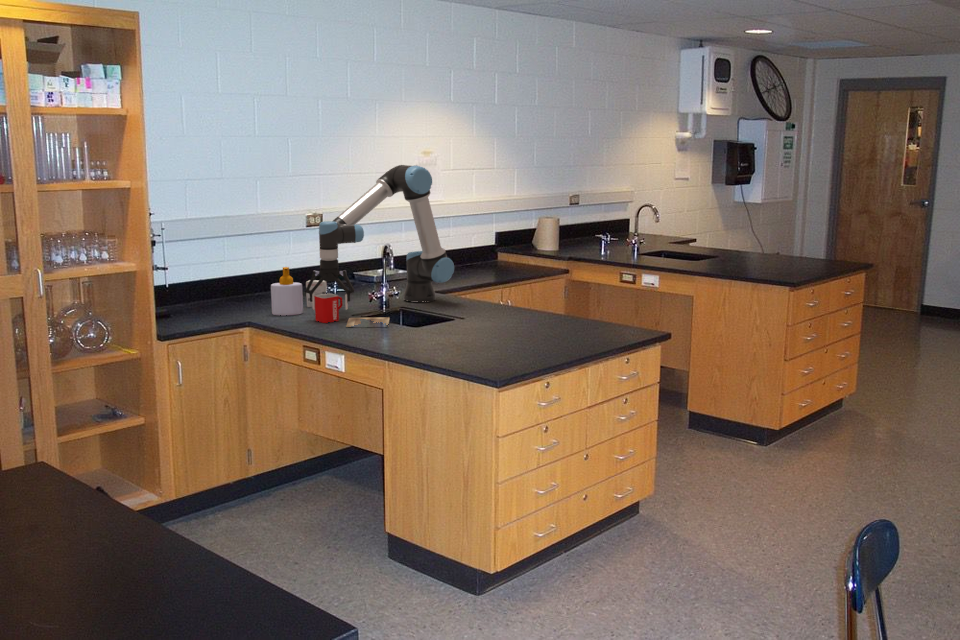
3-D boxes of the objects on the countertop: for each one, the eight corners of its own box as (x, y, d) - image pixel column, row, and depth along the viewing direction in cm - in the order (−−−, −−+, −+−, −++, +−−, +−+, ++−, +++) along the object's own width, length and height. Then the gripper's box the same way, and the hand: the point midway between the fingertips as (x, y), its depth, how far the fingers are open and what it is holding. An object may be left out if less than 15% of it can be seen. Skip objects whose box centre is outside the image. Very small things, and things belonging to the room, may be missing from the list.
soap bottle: (272, 316, 400) (269, 269, 396) (272, 312, 408) (270, 266, 404) (303, 315, 403) (301, 268, 399) (302, 311, 411) (301, 265, 407)
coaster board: (389, 318, 396) (389, 317, 396) (388, 327, 379) (388, 325, 379) (349, 319, 395) (349, 317, 395) (345, 327, 378) (345, 326, 378)
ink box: (328, 305, 424) (327, 280, 421) (325, 307, 419) (324, 281, 417) (309, 305, 425) (308, 279, 422) (306, 307, 420) (305, 281, 417)
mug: (325, 323, 386) (324, 298, 384) (313, 320, 392) (312, 295, 390) (348, 319, 394) (347, 294, 392) (336, 316, 400) (336, 292, 398)
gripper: (359, 257, 392) (360, 307, 396) (299, 257, 391) (301, 307, 395) (358, 260, 385) (359, 310, 389) (297, 260, 383) (299, 311, 388)
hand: (330, 309), depth 392 cm, fingers open, 13 cm apart
